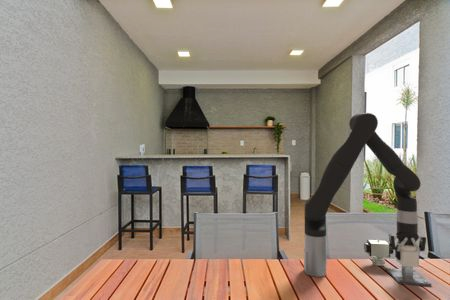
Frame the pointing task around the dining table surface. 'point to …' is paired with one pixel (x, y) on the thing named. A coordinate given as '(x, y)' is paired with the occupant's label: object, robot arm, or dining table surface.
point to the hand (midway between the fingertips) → (407, 259)
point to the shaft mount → (408, 276)
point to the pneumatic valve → (378, 251)
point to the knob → (409, 256)
